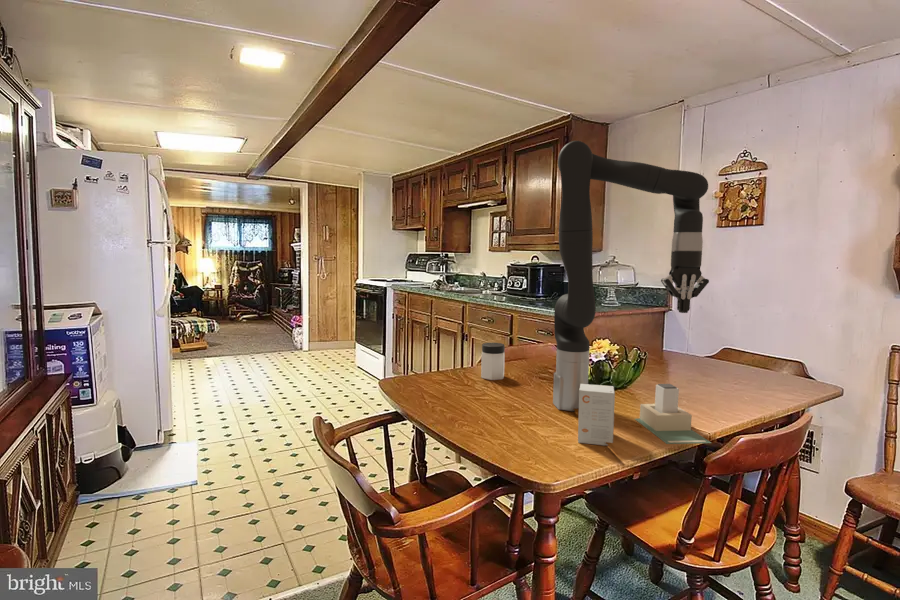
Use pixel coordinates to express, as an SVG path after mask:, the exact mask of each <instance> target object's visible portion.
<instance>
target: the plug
mask: <svg viewBox="0 0 900 600" xmlns="http://www.w3.org/2000/svg"><path fill="white" fill-rule="evenodd" d="M679 392H680V389H679V388H678V387H677V386H675V385H673V384H671V383H658V384H655V394H654V403H655V410H656V411H658V412H659V413H678V407H679V395H680V393H679Z"/></svg>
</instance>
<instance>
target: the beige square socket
mask: <svg viewBox="0 0 900 600" xmlns="http://www.w3.org/2000/svg"><path fill="white" fill-rule="evenodd" d="M639 406H640V407H639V418H640V419H641V420H642V421H644V422H645V423H646V424H648V425H649V426H650V427H652V428H653V429H654V430H655V431H683V430H692V416H693V415H692V414H691V413H689V411H686V410H684V409H683V408H681V407H679V406H678V413H659V412H658V411H656V410H655V402H653V403H640V405H639Z"/></svg>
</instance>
